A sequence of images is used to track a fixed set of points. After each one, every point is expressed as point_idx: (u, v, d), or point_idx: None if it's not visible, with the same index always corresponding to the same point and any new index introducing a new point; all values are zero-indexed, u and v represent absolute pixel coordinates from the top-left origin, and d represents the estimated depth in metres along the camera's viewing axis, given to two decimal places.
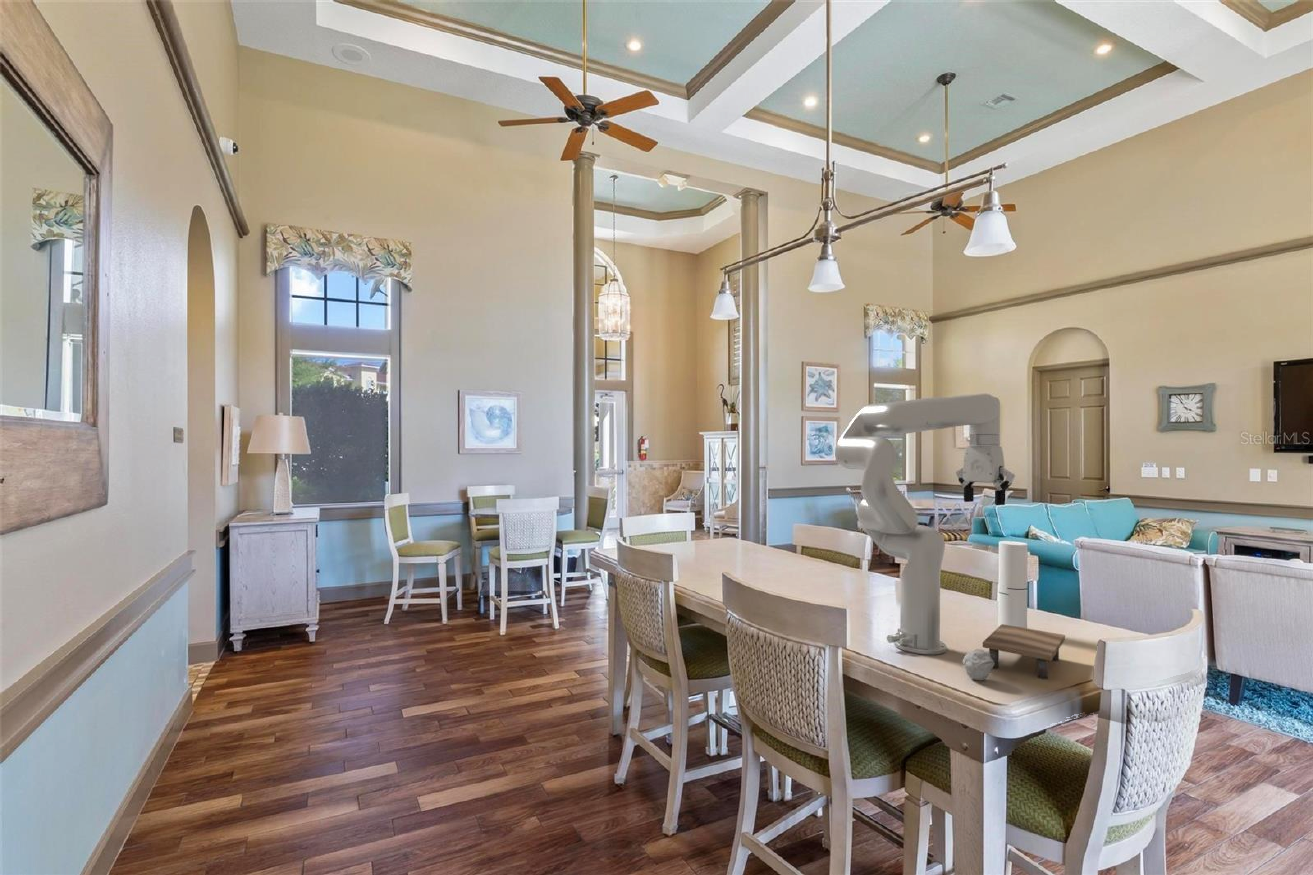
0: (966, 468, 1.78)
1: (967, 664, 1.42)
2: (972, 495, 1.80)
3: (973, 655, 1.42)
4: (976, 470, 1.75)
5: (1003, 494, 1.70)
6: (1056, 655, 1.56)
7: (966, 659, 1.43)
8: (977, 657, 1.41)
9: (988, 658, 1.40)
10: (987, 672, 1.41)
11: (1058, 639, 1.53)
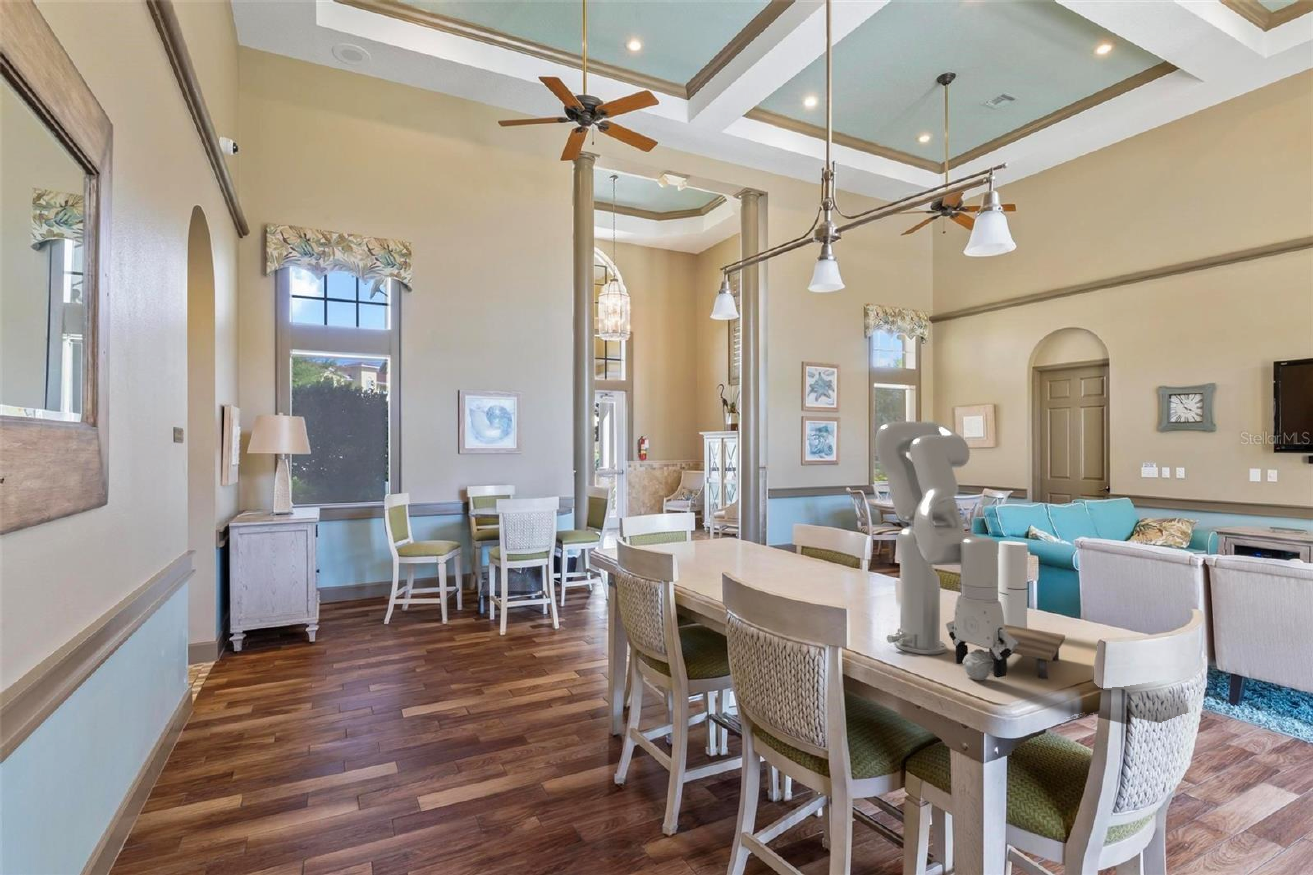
0: (957, 624, 1.44)
1: (967, 664, 1.42)
2: None
3: (973, 655, 1.42)
4: (970, 629, 1.41)
5: (1004, 664, 1.37)
6: (1056, 655, 1.56)
7: (966, 659, 1.43)
8: (977, 657, 1.41)
9: (988, 658, 1.40)
10: (987, 672, 1.41)
11: (1058, 639, 1.53)
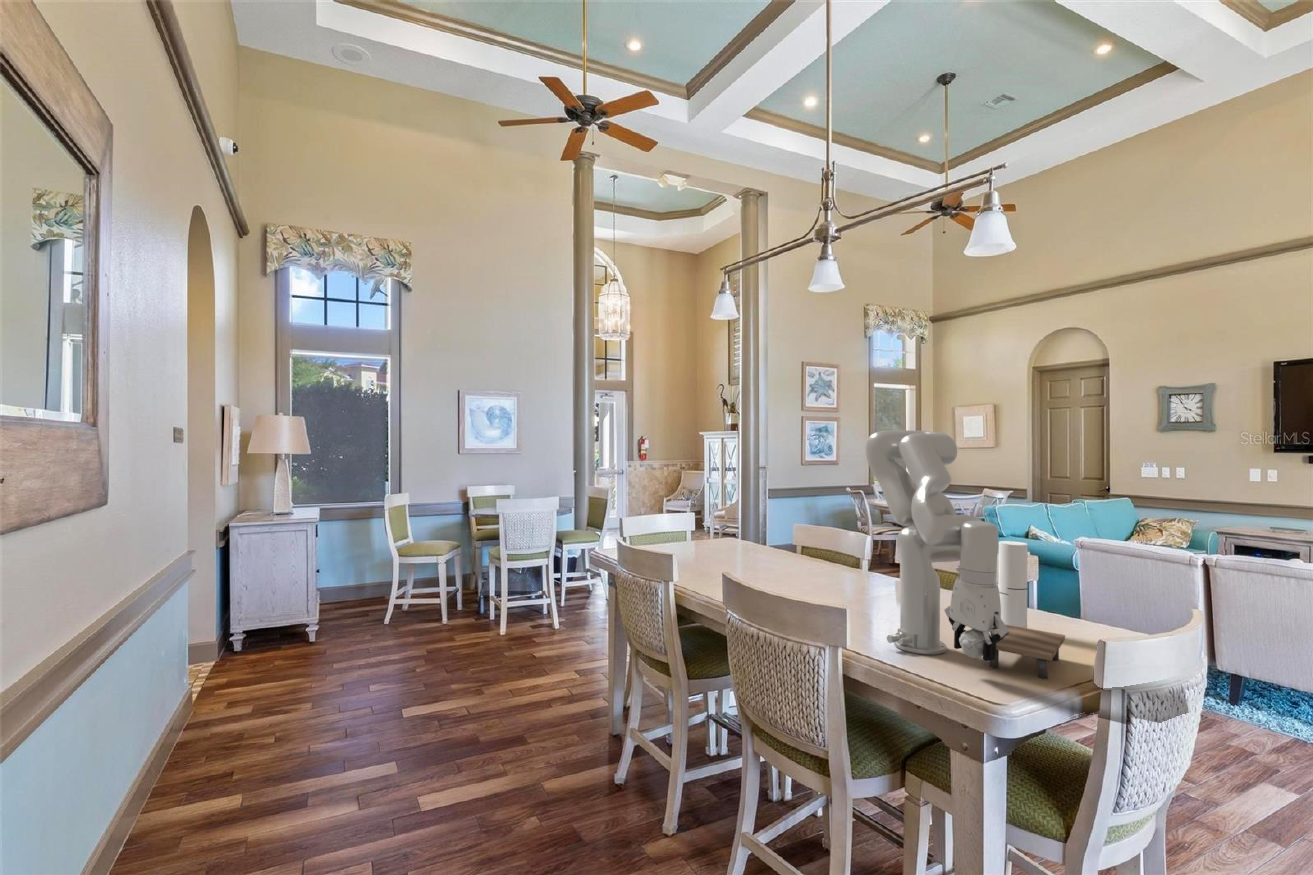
0: (954, 606, 1.46)
1: (963, 642, 1.43)
2: None
3: (970, 633, 1.43)
4: (966, 612, 1.43)
5: (993, 648, 1.40)
6: (1056, 655, 1.56)
7: (963, 637, 1.44)
8: (973, 635, 1.42)
9: None
10: None
11: (1058, 639, 1.53)
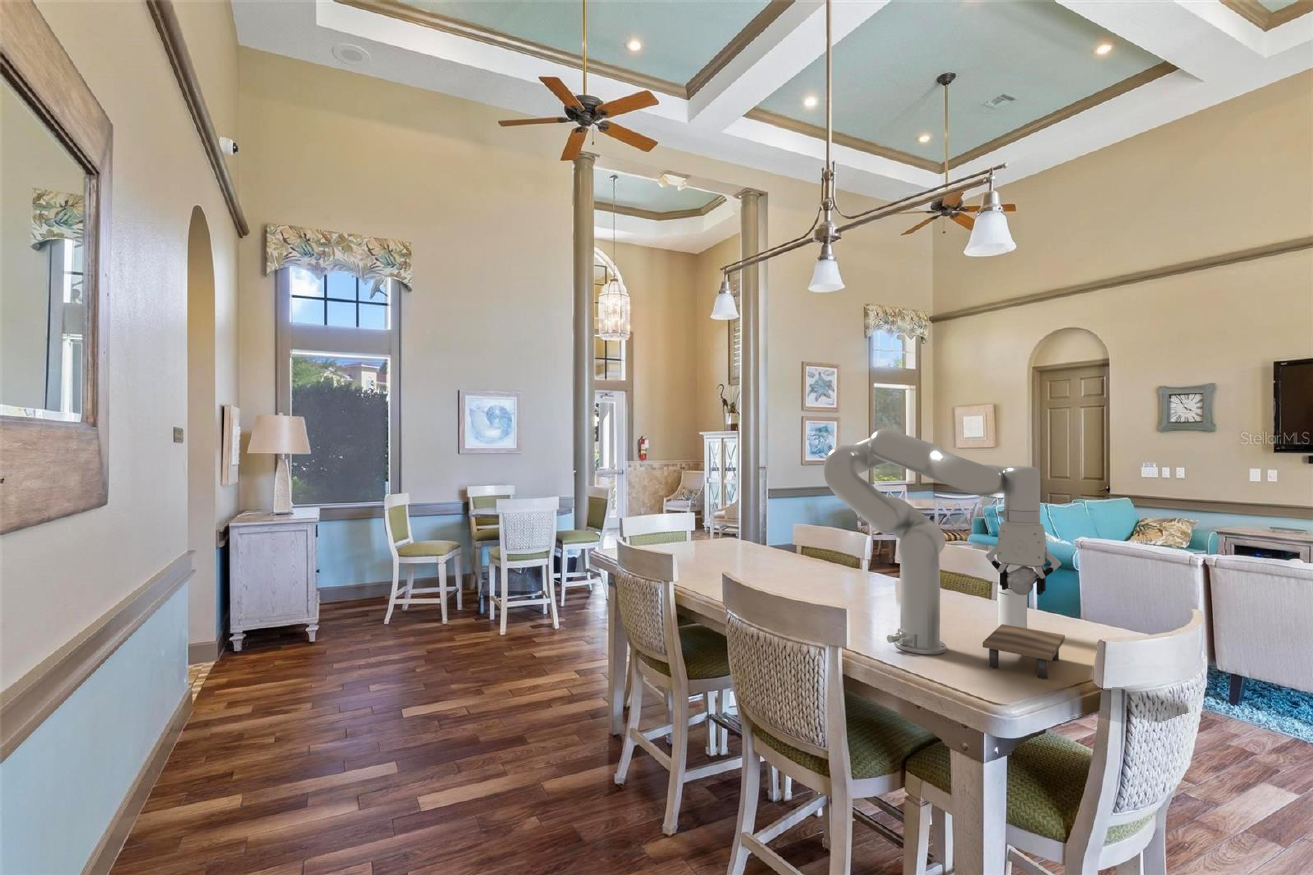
0: (1002, 548, 1.53)
1: (1017, 581, 1.51)
2: None
3: (1021, 571, 1.51)
4: (1017, 552, 1.51)
5: (1044, 582, 1.50)
6: (1056, 655, 1.56)
7: (1013, 576, 1.52)
8: (1025, 572, 1.51)
9: (1035, 572, 1.50)
10: (1032, 586, 1.51)
11: (1058, 639, 1.53)
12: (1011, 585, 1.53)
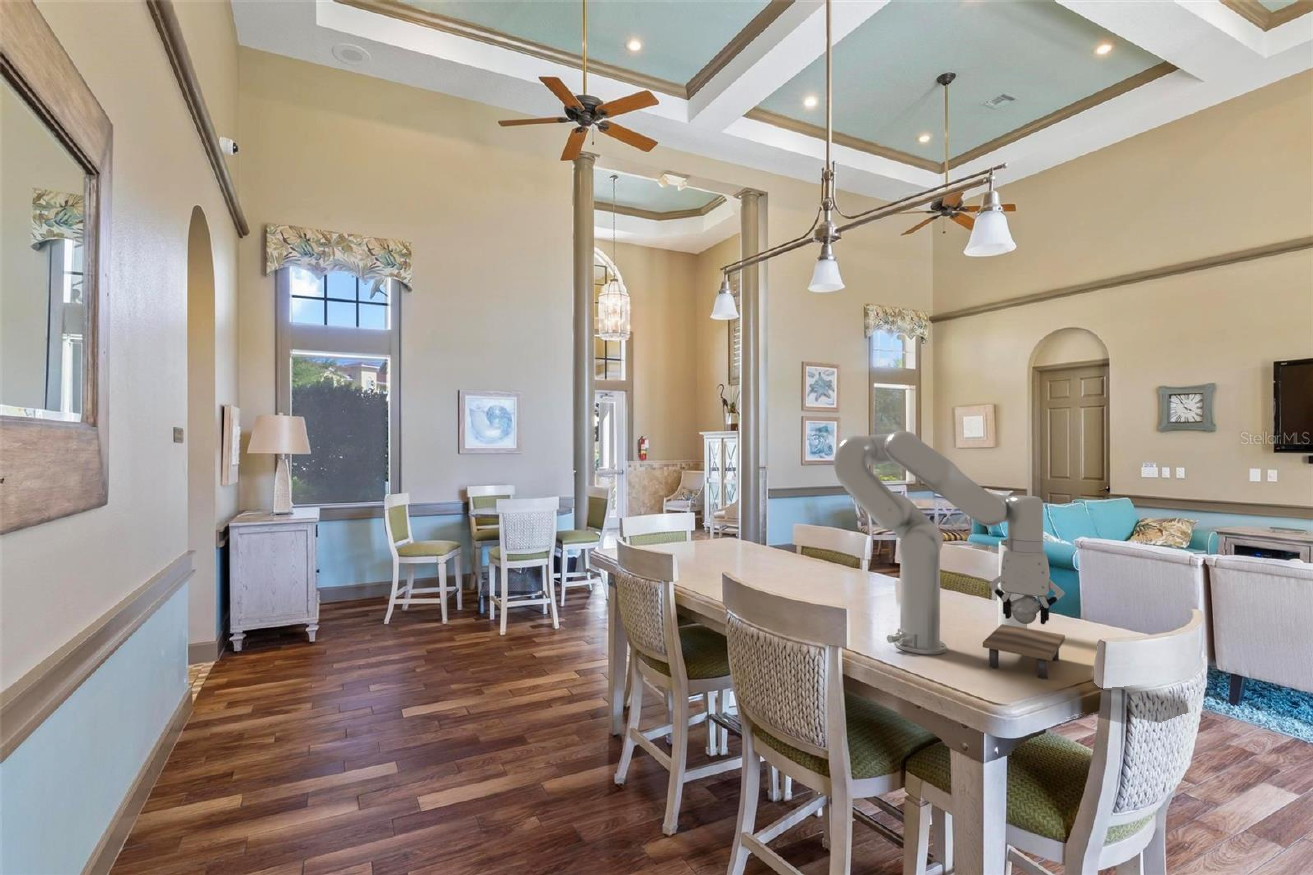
0: (1006, 577, 1.54)
1: (1021, 610, 1.52)
2: (1010, 609, 1.57)
3: (1025, 601, 1.52)
4: (1021, 581, 1.52)
5: (1048, 611, 1.51)
6: (1056, 655, 1.56)
7: (1017, 606, 1.53)
8: (1029, 602, 1.52)
9: (1039, 601, 1.52)
10: None
11: (1058, 639, 1.53)
12: (1015, 614, 1.54)
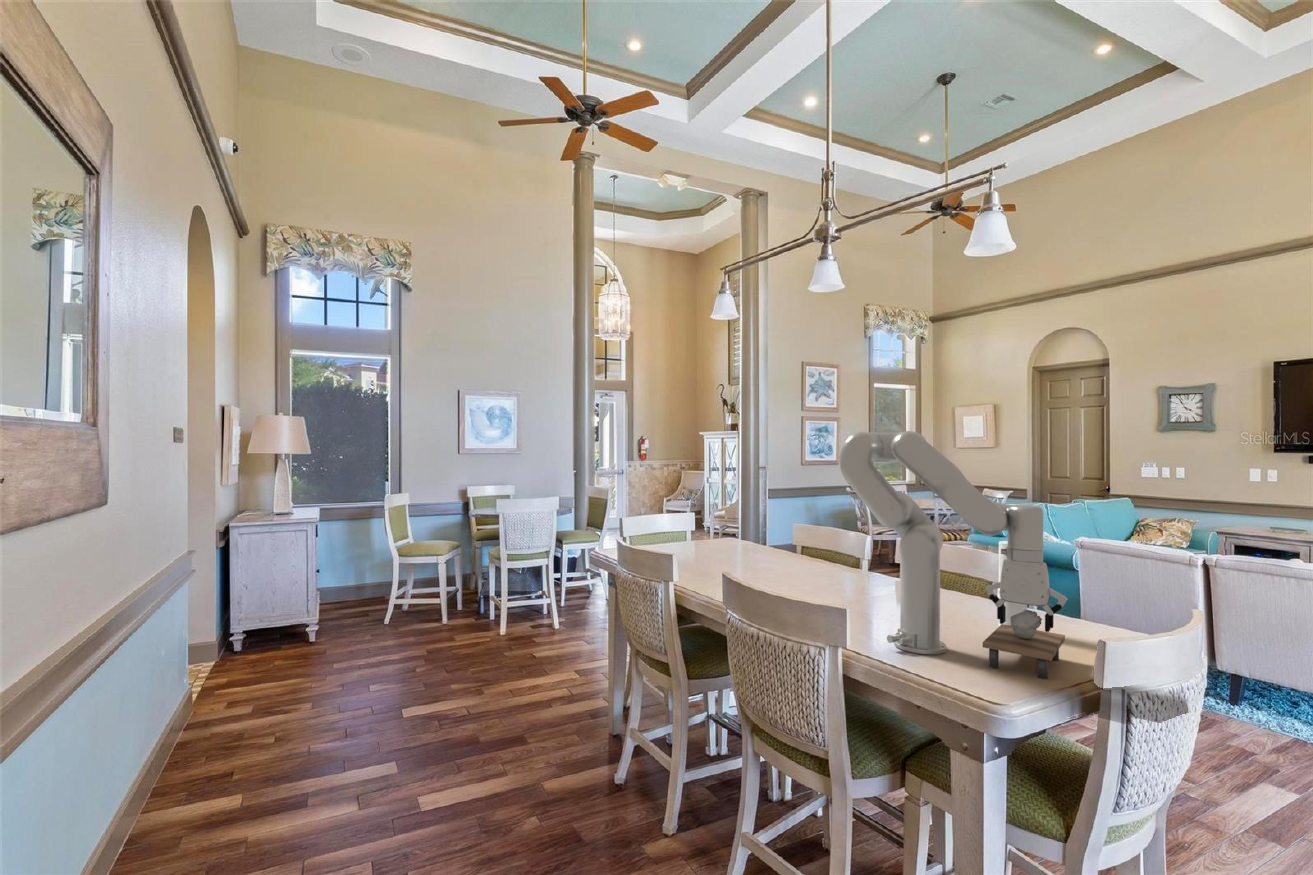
0: (1005, 587, 1.54)
1: (1021, 625, 1.52)
2: (1005, 615, 1.58)
3: (1025, 616, 1.52)
4: (1021, 590, 1.52)
5: (1052, 619, 1.50)
6: (1056, 655, 1.56)
7: (1017, 620, 1.53)
8: (1030, 617, 1.51)
9: (1039, 617, 1.51)
10: None
11: (1058, 639, 1.53)
12: (1015, 629, 1.53)
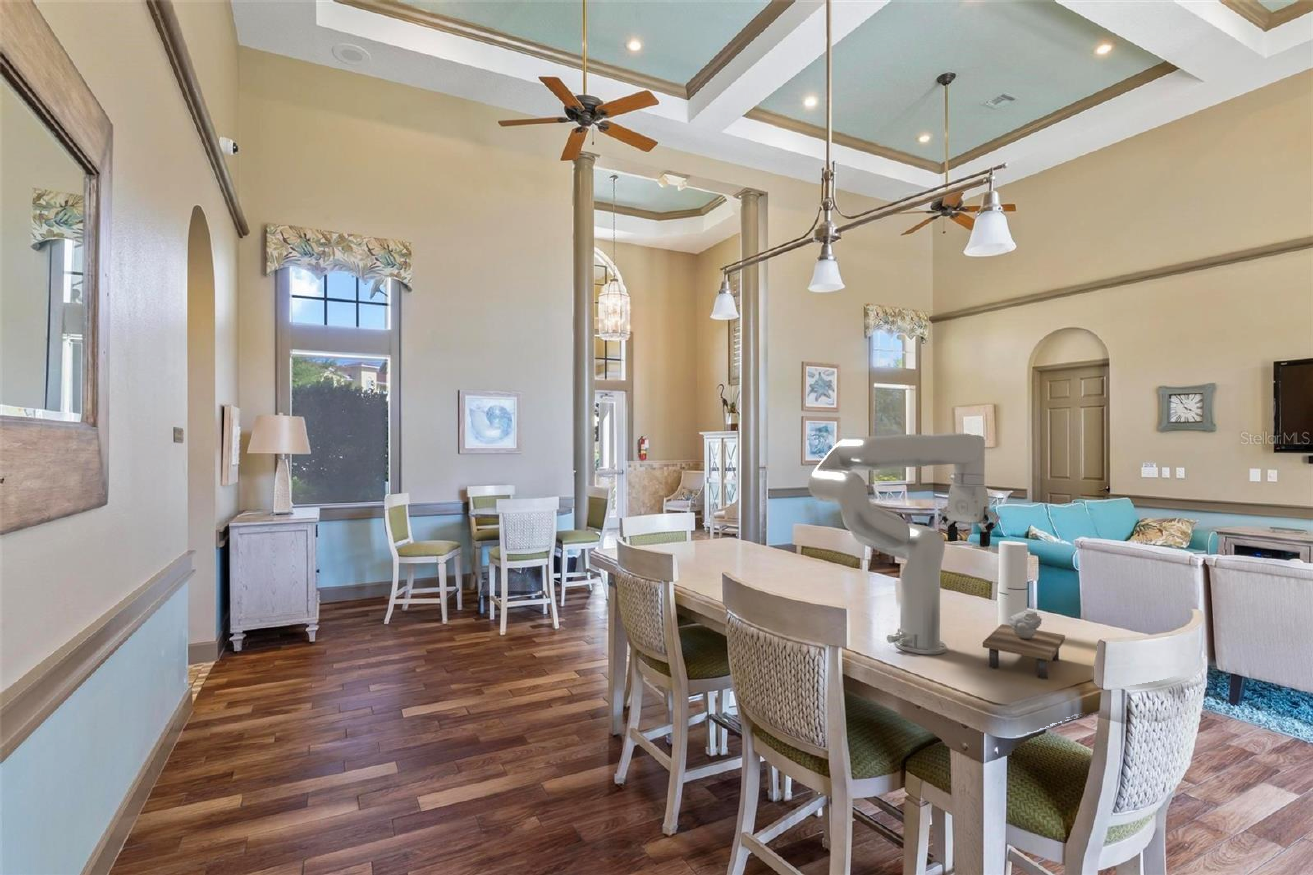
0: (950, 507, 1.73)
1: (1021, 625, 1.52)
2: (956, 534, 1.76)
3: (1025, 616, 1.52)
4: (960, 510, 1.70)
5: (988, 536, 1.66)
6: (1056, 655, 1.56)
7: (1017, 620, 1.53)
8: (1029, 617, 1.51)
9: (1039, 617, 1.51)
10: None
11: (1058, 639, 1.53)
12: (1015, 629, 1.53)
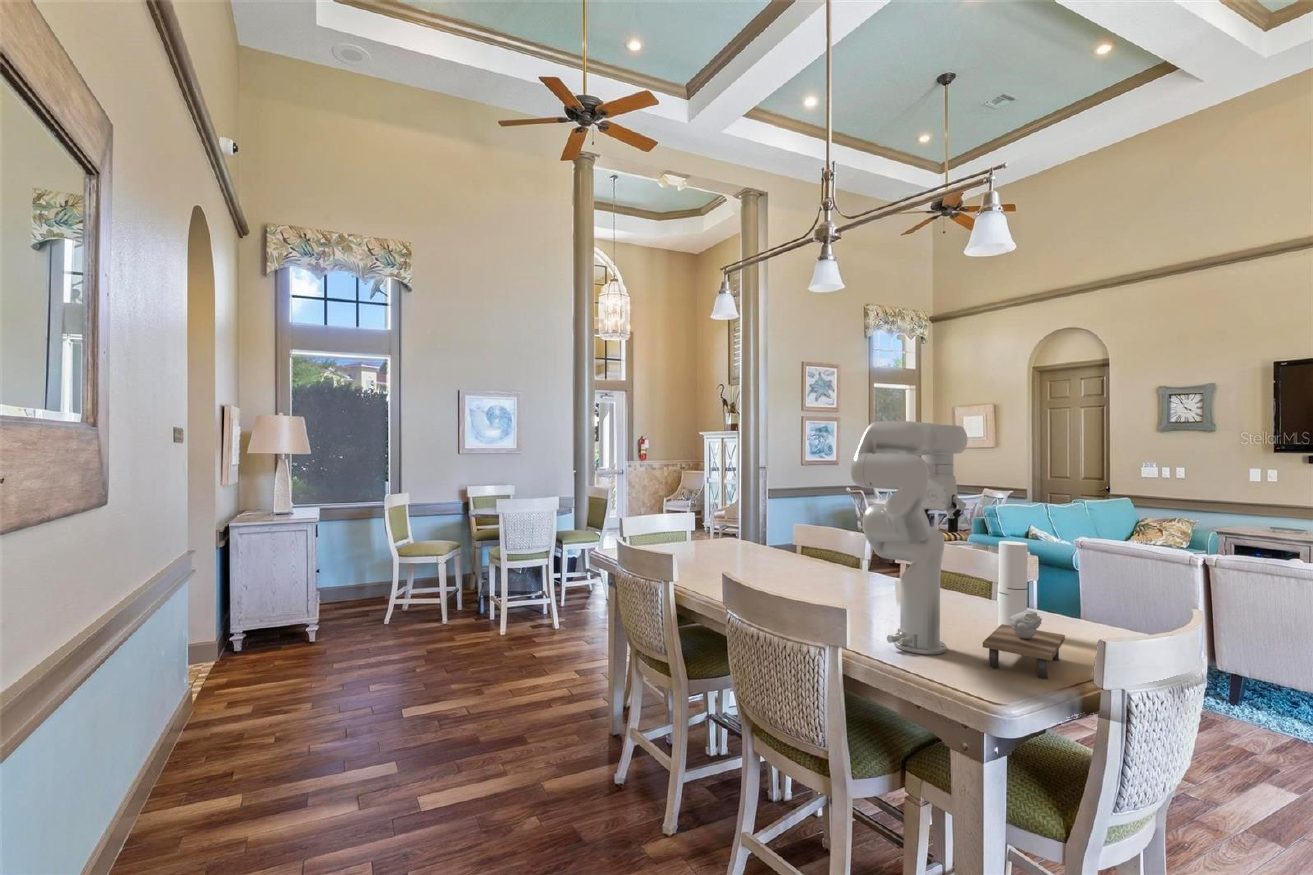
0: None
1: (1021, 625, 1.52)
2: (928, 521, 1.86)
3: (1025, 616, 1.52)
4: (931, 498, 1.81)
5: (956, 522, 1.77)
6: (1056, 655, 1.56)
7: (1017, 620, 1.53)
8: (1029, 617, 1.51)
9: (1039, 617, 1.51)
10: None
11: (1058, 639, 1.53)
12: (1015, 629, 1.53)
